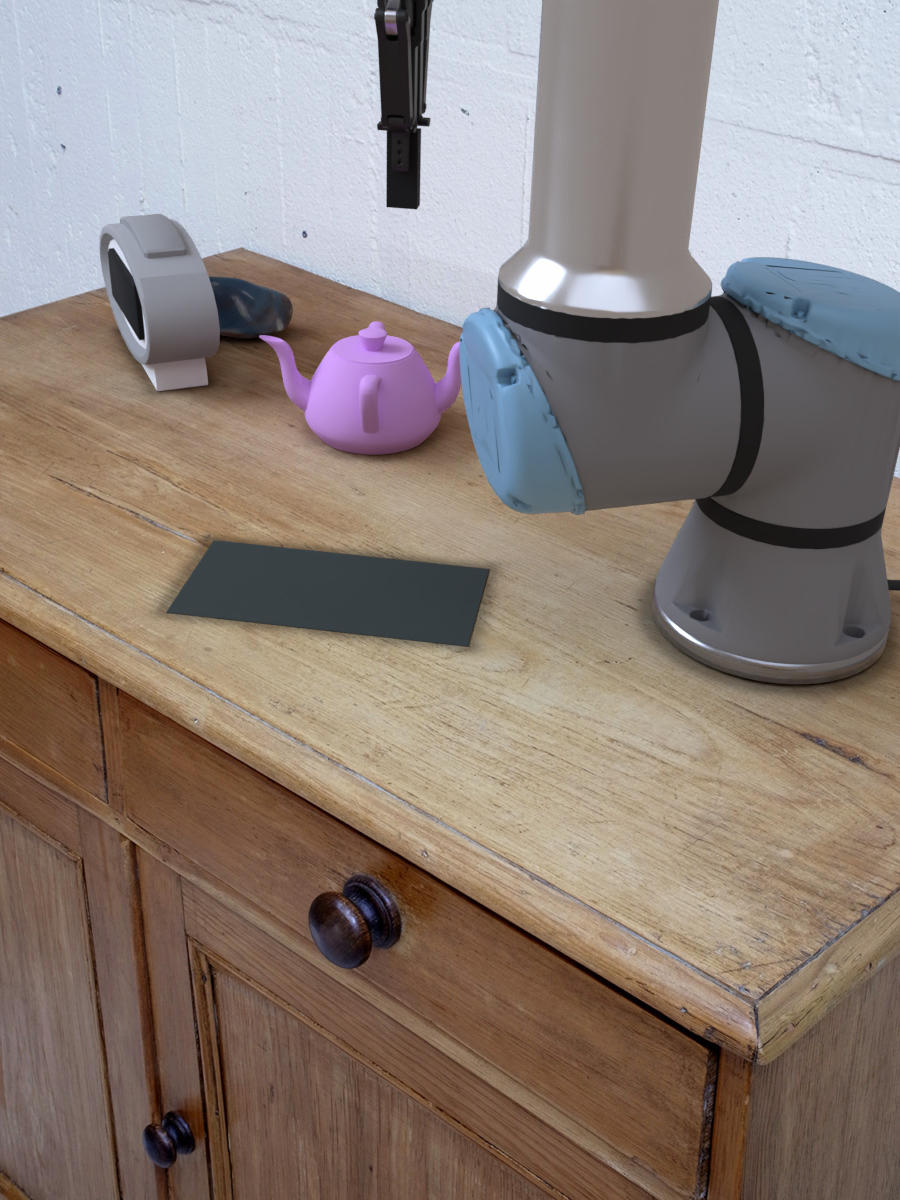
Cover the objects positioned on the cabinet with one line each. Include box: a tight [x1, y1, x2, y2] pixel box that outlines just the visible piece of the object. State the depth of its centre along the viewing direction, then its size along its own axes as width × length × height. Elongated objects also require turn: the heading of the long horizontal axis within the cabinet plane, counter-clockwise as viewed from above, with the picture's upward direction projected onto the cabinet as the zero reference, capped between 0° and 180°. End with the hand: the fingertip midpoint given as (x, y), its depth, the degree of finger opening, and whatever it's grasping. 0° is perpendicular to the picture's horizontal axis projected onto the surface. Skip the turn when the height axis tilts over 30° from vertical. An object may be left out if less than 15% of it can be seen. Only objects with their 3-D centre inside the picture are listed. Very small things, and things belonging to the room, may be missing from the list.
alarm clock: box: [98, 213, 221, 392], centre depth 121 cm, size 23×6×13 cm, turn 23°
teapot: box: [259, 320, 462, 456], centre depth 109 cm, size 12×14×9 cm
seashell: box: [208, 275, 294, 340], centre depth 130 cm, size 6×9×10 cm
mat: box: [165, 539, 490, 648], centre depth 89 cm, size 20×10×1 cm, turn 81°
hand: (403, 205), depth 115 cm, fingers closed
